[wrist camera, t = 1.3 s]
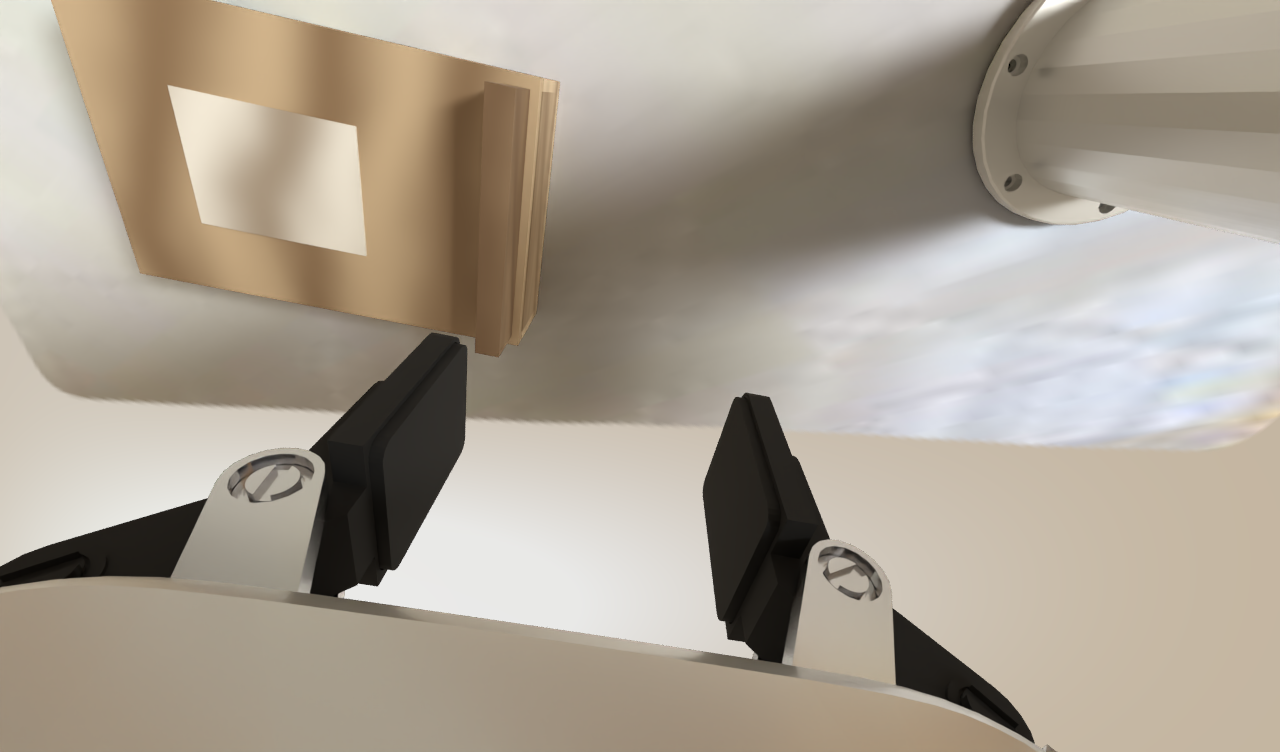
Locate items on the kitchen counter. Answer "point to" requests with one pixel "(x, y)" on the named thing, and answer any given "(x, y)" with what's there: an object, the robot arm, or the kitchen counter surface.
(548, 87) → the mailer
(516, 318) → the lid
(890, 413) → the kitchen counter surface
